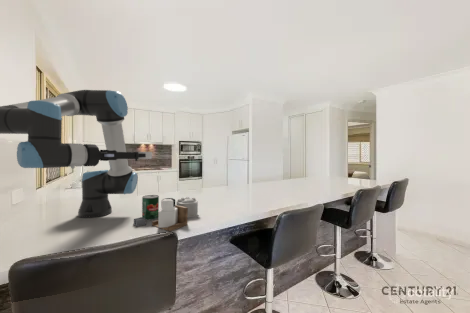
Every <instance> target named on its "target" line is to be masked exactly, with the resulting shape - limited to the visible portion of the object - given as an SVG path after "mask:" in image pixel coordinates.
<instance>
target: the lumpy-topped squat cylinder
mask: <svg viewBox="0 0 470 313" xmlns="http://www.w3.org/2000/svg"><path fill="white" fill-rule="evenodd" d="M198 203H199V202H198V201H197V199H196V198H195V197H191V198H190V196H186V197H183V196H182V197H181V198H178V199H177V200H176V202H175V205H178V206H183V207H188V218H191V217H192V218H193V217H198V210H199V208H198V206H199V204H198Z"/></svg>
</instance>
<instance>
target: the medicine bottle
mask: <svg viewBox="0 0 470 313" xmlns="http://www.w3.org/2000/svg"><path fill="white" fill-rule="evenodd" d="M160 202H161V209H160V210H159V212H158V218H157V220H158V227H157V228H159V229H161V228H168V227H169V226H172V225H175V224H177V223H178V208H175V205H176V199H175V198H173V197H167V198H162V199H161V201H160Z"/></svg>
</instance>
